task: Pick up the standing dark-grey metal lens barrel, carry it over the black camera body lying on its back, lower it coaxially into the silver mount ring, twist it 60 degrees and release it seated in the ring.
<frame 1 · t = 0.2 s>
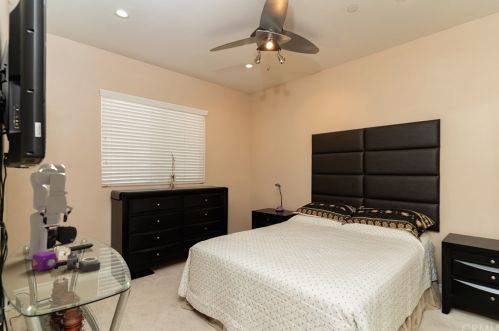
hand: (55, 223, 156), 30 cm above the table, fingers open, 9 cm apart
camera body: (89, 267, 168), on the table
movie camera: (55, 246, 214), on the table
toy camera: (45, 269, 164), on the table
lens: (71, 267, 167), on the table
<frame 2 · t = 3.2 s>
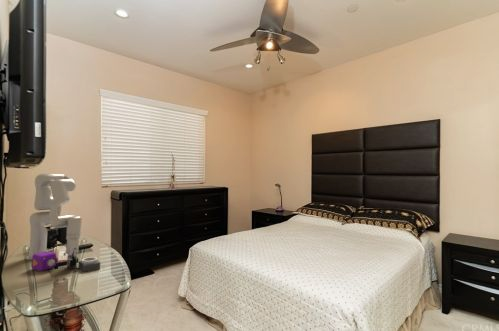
hand: (71, 264, 167), 2 cm above the table, fingers closed on lens, 5 cm apart
lens: (71, 267, 167), on the table, touching gripper
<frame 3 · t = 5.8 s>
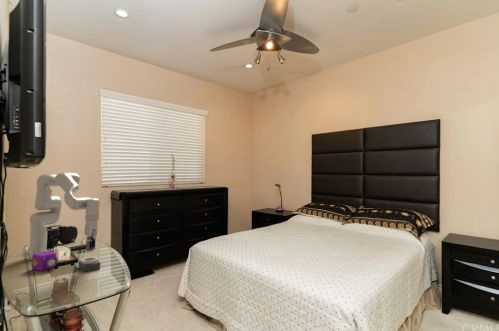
hand: (90, 246, 169), 14 cm above the table, fingers closed on lens, 5 cm apart
lens: (90, 249, 169), point 12 cm above the table, touching gripper
when the fingers open (7 cm above the table, at t = 8.4 s): lens stays where it is, resting on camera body.
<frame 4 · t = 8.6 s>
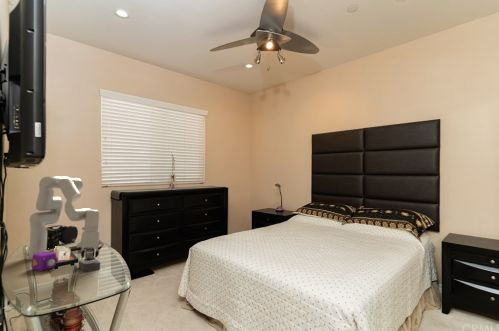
hand: (89, 256, 169), 7 cm above the table, fingers open, 7 cm apart
lens: (89, 261, 169), point 4 cm above the table, touching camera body
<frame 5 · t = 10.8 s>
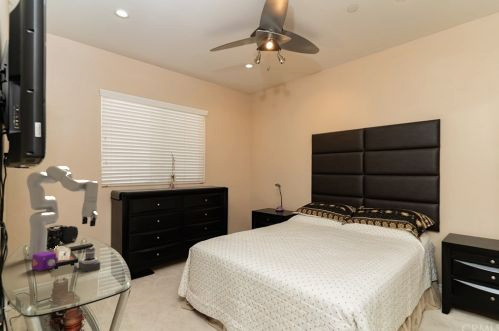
hand: (88, 225, 177), 25 cm above the table, fingers open, 9 cm apart
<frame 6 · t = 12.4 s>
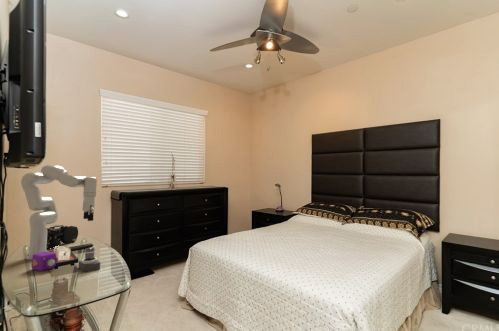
hand: (88, 219, 181), 28 cm above the table, fingers open, 9 cm apart
at the end: lens 0.1 cm off-centre on the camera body, point 4.0 cm above the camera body's base; lens tilted 1°; the gripper is holding nothing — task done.
